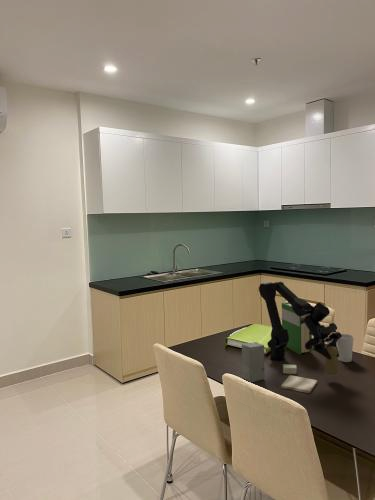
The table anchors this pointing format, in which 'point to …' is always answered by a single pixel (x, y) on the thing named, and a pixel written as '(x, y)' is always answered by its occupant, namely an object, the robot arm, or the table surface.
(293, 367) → the soap bar
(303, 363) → the table surface
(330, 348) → the cork
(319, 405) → the table surface
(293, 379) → the board
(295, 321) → the hardback book
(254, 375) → the skincare box
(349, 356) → the cup
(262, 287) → the robot arm
